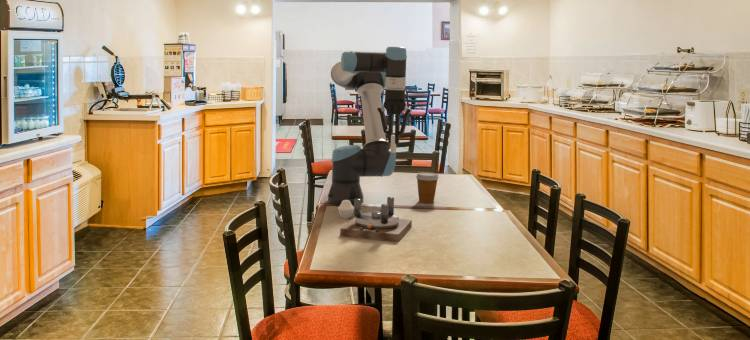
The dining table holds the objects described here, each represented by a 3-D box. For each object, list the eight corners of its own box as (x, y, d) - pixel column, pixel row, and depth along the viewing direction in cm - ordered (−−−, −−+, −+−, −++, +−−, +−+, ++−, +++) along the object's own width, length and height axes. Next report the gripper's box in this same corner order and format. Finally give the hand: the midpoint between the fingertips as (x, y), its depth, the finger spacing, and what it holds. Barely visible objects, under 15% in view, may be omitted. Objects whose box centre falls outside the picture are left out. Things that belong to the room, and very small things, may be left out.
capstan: (348, 219, 210) (349, 197, 209) (387, 216, 216) (388, 194, 215) (366, 231, 196) (367, 207, 195) (407, 227, 202) (408, 204, 201)
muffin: (346, 220, 220) (346, 202, 219) (334, 217, 224) (334, 199, 223) (357, 217, 225) (357, 199, 223) (345, 214, 229) (346, 196, 227)
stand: (340, 235, 200) (340, 226, 199) (358, 221, 219) (358, 212, 218) (398, 241, 195) (398, 232, 194) (411, 226, 214) (411, 217, 213)
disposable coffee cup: (436, 204, 250) (437, 176, 248) (413, 203, 252) (414, 175, 250) (438, 199, 259) (439, 172, 257) (416, 198, 261) (417, 171, 259)
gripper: (375, 88, 220) (373, 152, 224) (410, 90, 216) (407, 154, 220) (380, 88, 227) (379, 150, 231) (414, 89, 224) (412, 152, 228)
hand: (393, 152), depth 226 cm, fingers closed
